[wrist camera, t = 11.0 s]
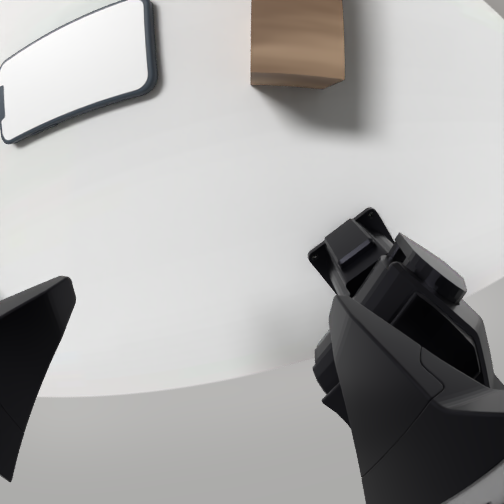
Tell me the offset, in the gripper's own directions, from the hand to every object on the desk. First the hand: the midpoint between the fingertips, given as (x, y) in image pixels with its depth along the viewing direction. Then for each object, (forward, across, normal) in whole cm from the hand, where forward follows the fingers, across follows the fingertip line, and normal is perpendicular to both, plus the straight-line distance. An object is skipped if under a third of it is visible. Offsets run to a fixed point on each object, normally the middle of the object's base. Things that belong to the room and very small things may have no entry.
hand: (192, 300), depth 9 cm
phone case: (+14, +14, -11) cm, 22 cm away
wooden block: (+10, -4, -8) cm, 14 cm away
